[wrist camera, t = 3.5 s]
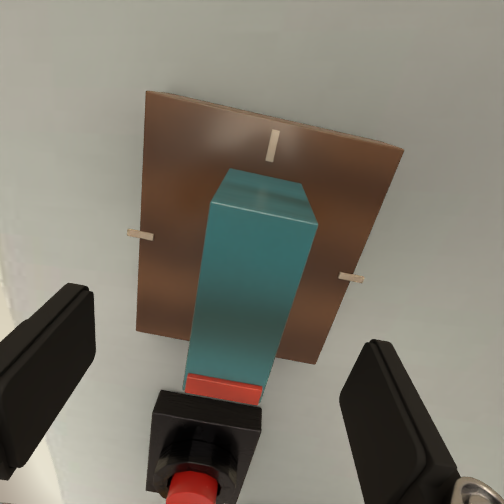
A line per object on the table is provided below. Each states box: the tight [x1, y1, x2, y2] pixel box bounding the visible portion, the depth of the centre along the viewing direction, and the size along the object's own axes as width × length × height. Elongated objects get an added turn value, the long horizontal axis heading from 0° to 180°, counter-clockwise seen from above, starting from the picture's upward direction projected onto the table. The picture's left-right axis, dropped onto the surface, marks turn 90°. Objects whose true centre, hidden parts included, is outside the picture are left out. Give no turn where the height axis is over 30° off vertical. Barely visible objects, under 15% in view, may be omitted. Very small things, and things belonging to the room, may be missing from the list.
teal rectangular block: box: [183, 168, 318, 405], centre depth 14 cm, size 9×4×6 cm, turn 168°
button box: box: [146, 390, 262, 504], centre depth 27 cm, size 12×9×4 cm
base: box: [127, 91, 404, 365], centre depth 18 cm, size 14×13×3 cm
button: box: [166, 471, 218, 504], centre depth 25 cm, size 4×4×2 cm
